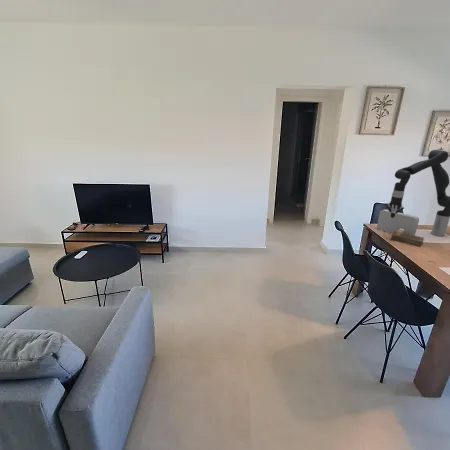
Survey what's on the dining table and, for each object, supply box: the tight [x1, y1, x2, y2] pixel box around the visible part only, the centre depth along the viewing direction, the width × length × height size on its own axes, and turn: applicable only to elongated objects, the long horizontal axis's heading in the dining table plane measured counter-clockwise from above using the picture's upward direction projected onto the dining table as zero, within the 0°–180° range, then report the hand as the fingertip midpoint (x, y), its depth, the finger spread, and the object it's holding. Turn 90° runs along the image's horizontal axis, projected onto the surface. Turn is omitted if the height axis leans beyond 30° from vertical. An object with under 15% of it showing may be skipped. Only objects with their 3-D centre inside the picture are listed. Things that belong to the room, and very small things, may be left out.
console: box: [390, 231, 425, 248], centre depth 220 cm, size 12×20×4 cm, turn 49°
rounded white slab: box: [376, 209, 420, 236], centre depth 235 cm, size 29×8×18 cm, turn 36°
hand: (392, 217), depth 221 cm, fingers closed
